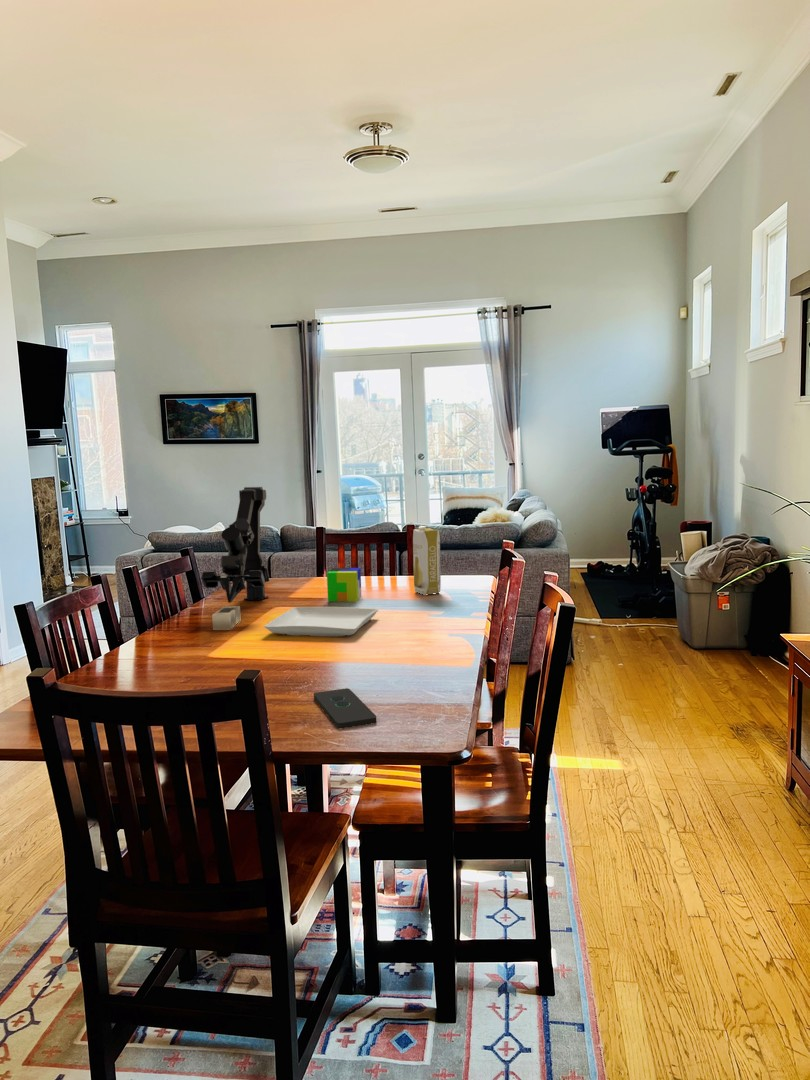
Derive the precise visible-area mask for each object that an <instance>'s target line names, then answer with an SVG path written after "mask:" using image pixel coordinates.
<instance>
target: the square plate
mask: <svg viewBox="0 0 810 1080" xmlns="http://www.w3.org/2000/svg"><path fill="white" fill-rule="evenodd" d="M378 611H379V610H378V609H377V608H361V607H360V608H359V607H346V606H345V607H344V606H343V607H341V606H296V607H295V606H294V607H293V608H292V607H291V608H290V609H289V610H286V611H285V612H284V613H282V614H280V615H278V616H277V617H276V618H274V619H272V620H271V621H269V622H267V624H264V625H263V628H265V629H266V630H268V631H269V632H270V633H273V634H281V635H285V634H287V635H286V636H299V635H310V637H346V636H345V635H347V636H352V635H354V634H355V633H356V632H357V631H358V630H359V629H360V628H361V627H362V626H365V624H366V623H368V622H369V621H370V620H371V619H372V618H373V617H375V615H376V614H377V612H378Z"/></svg>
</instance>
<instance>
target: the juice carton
mask: <svg viewBox="0 0 810 1080" xmlns="http://www.w3.org/2000/svg"><path fill="white" fill-rule="evenodd" d="M412 555H413V559H412V560H413V561H412V562H413V585H414V586H413V587H414V592H415V593H416V592H418V593H417V594H419V593H420V595H422V594H423V595H422V596H427V595H426V594H433V593H439V592H440V593H441V587H442V584H441V583H442V582H441V580H442V579H441V537H440V530H439V529H433V528H429V527H427V526H426V525H420V526H418V528H415V529H413V533H412Z"/></svg>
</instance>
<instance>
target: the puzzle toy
mask: <svg viewBox="0 0 810 1080" xmlns="http://www.w3.org/2000/svg"><path fill="white" fill-rule="evenodd" d="M361 574H362V573H361V567H333V568H331V569H330V570H328V572H326V582H327V583H326V584H327V585H326V586H327V602H328V601H357V602H358V601H359V600H360V598H361V597H362V575H361Z"/></svg>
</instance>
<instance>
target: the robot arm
mask: <svg viewBox="0 0 810 1080" xmlns="http://www.w3.org/2000/svg"><path fill="white" fill-rule="evenodd" d="M238 492H239V493H238V495H239V497H238V498H239V502H238V503H239V504H238V509H237V512H236V513H237V514H236V518H235V521H233V522H232V523H231V524H229V525H228V526H229V527H226V528H224V530H223V531H221V539H222V541H223V543H224V546H225V549H226V550H227V551H228V554H227V555H221V559H220V560H221V561H220V567H221V568H222V569H221V570H222V573H220V575H217V573H216V571H215V570H209V571H208V570H207V571H203V572H202V573H201V577H200V578H201V581H202V583H203V585H204V588H207V589H215V588H216V589H217V587H218V586H219V583H220V586H221V588H222V590H225V594H226V598H227V603H231V604H232V602H233V601H234V599H235V598H236V597H237V596H238V594H240V593H241V592H242V591H243V590H246V596H245V597H243V600H244V599H248V600H247V601H256V600H259V601H261V600H260V599H262V600H264V599H263V598H265V599H267V598H266V597H268V598H269V595H266V592H265V591H266V590H265V583H267V582H269V581H270V575H269V571H268V568H267V565H266V563H265V560H264V557H263V556H262V554H261V511H262V510H263V508H264V507H265V503H266V500H267V491H266V489H263V486H245V487H243V489H241V490H238ZM231 583H232V584H231Z"/></svg>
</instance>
